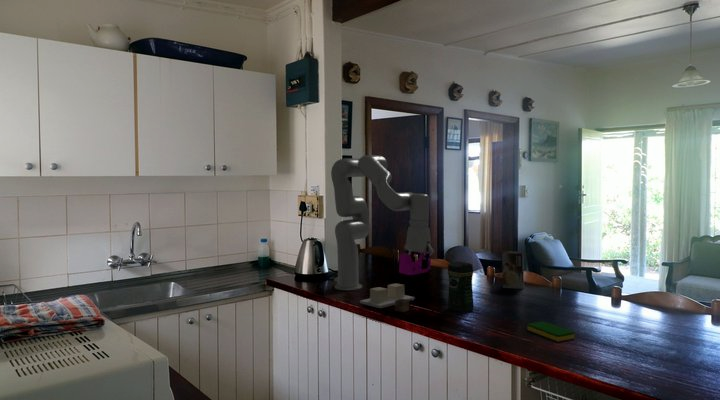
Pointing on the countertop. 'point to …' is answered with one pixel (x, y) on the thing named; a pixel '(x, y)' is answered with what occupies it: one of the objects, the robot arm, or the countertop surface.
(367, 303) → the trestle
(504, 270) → the coffee box
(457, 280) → the coffee jar
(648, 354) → the countertop surface
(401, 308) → the cube
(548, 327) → the dish sponge
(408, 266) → the toy block
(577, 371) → the countertop surface
